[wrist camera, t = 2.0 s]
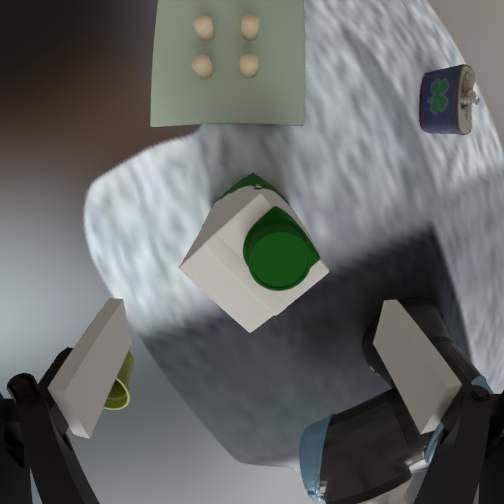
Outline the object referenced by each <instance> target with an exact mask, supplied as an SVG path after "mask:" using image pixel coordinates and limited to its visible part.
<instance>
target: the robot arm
mask: <svg viewBox="0 0 504 504" xmlns="http://www.w3.org/2000/svg"><path fill="white" fill-rule="evenodd" d="M131 345H132V340H131V335H130V331H129V326H128V322H127V317H126V312H125V307H124V302H123V299H113V298H109V300H108V301H107V302H106V304H105V305H104V306H103V308H102V309H101V310H100V312H99V313H98V315H97V316H96V317H95V319H94V320H93V322H92V323H91V324H90V326H89V327H88V328H87V330H86V331H85V333H84V334H83V335H82V337H81V338H80V340H79V341H78V343H77V344H76V346H75V347H74V348H68V347H67V348H66V349H65V350H63V351H62V352H61V353H59V354H58V356H57V357H56V359H55V360H54V363H52V364H51V366H50V369H48V370H47V372H46V373H45V375H44V376H43V378H42V379H41V381H40V382H39V384H37V382H36V380H35V378H34V376H32V375H31V374H27V373H22V374H18V375H16V376H14V377H13V378H12V379H10V381H9V382H8V384H7V390H8V392H9V394H10V395H11V397H12V399H5V398H3V396H2V395H1V393H0V504H33V503H32V493H31V480H30V468H31V471H32V474H33V478H34V481H35V484H36V487H37V490H38V493H39V495H40V498H41V501H42V503H43V504H99V502H98V500H97V498H96V496H95V494H94V492H93V491H92V489H91V487H90V485H89V483H88V481H87V479H86V476H85V474H84V472H83V470H82V468H81V466H80V464H79V461H78V459H77V457H76V454H75V452H74V450H73V447H72V445H71V443H70V440H69V438H68V436H67V434H66V431H67V429H68V427H70V429H71V430H72V432H73V434H74V435H78V436H82V437H85V438H89V439H90V437H91V435H92V432H93V430H94V427H95V425H96V423H97V420H98V418H99V415H100V413H101V411H102V408H103V406H104V404H105V402H106V399H107V397H108V395H109V392H110V390H111V388H112V386H113V383H114V381H115V379H116V377H117V375H118V373H119V370H120V368H121V366H122V364H123V362H124V360H125V357H126V355H127V353H128V351H129V349H130V347H131ZM363 354H364V357H365V360H366V362H367V364H368V366H369V367H370V369H371V370H372V371H373V372H374V373H375V374H376V375H378V376H380V377H382V378H383V379H384V380H385V381H386V382H387V383H388V384H389V385H390V386H391V387H392V389H390V390H388V391H386V392H384V393H382V394H380V395H378V396H376V397H374V398H372V399H369V400H367V401H365V402H363V403H361V404H359V405H357V406H354V407H352V408H350V409H347V410H345V411H343V412H340V413H338V414H331V415H329V417H327V418H325V419H323V420H321V421H318V422H316V423H314V424H312V425H310V426H308V427H307V428H306V429H305V430H304V432H303V434H302V436H301V440H300V446H299V460H300V469H301V475H302V479H303V483H304V486H305V489H306V490H307V492H308V495H309V497H310V498H311V499H312V500H314V501H323V500H325V502H326V504H409V501H408V499H407V496H406V490H407V488H408V486H409V485H410V483H411V481H412V479H413V477H412V474H411V472H410V469H409V466H411V465H413V464H415V463H417V462H419V461H421V460H423V459H425V462H427V463H429V464H430V465H429V468H428V470H427V473H426V476H425V478H424V480H423V483H422V485H421V488H420V490H419V493H418V495H417V497H416V499H415V501H414V503H413V504H473V501H474V498H475V494H476V490H477V486H478V483H479V504H504V391H503V392H502V394H494V393H493V391H492V390H491V388H490V387H489V385H488V384H487V382H486V379H485V377H484V376H482V375H481V374H480V373H479V371H478V370H477V369H476V368H475V367H474V365H473V364H472V363H471V362H470V361H469V359H468V358H467V357H466V356H465V355H464V353H463V352H462V351H461V350H460V349H459V348H458V346H457V345H456V344H455V343H454V342H453V341H452V339H451V337H450V334H449V331H448V328H447V326H446V323H445V319H444V316H443V314H442V312H441V311H440V310H439V309H438V308H437V307H436V305H435V304H434V303H432V302H431V301H430V300H428V299H425V298H420V297H413V298H408V299H404V300H401V301H399V302H398V301H397V300H384V303H383V307H382V311H381V314H380V315H379V316H378V317H377V318H376V319H375V320H374V322H373V323H372V324H371V326H370V327H369V329H368V331H367V333H366V335H365V338H364V342H363Z"/></svg>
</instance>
